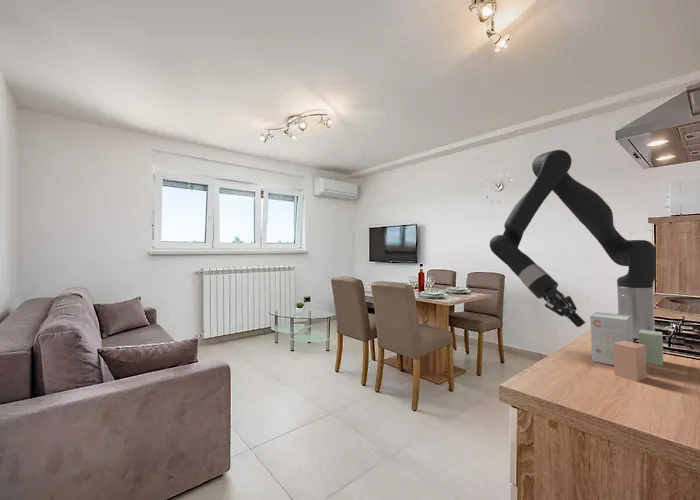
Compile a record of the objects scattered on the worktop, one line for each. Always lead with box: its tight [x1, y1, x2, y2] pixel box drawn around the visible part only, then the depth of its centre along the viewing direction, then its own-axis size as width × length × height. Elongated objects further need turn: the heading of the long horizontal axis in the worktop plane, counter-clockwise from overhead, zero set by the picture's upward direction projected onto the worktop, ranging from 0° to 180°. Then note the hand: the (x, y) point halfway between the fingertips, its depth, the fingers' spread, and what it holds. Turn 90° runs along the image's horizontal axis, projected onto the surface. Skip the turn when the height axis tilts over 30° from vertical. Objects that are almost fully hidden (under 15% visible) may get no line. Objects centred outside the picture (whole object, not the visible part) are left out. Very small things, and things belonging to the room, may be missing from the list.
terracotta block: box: [613, 341, 648, 383], centre depth 78 cm, size 4×4×8 cm
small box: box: [589, 311, 634, 366], centre depth 87 cm, size 8×6×13 cm
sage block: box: [637, 330, 664, 367], centre depth 86 cm, size 4×4×8 cm
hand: (581, 325), depth 93 cm, fingers closed
